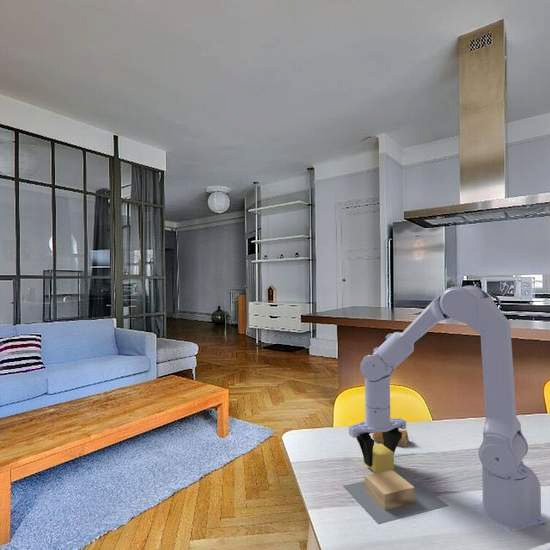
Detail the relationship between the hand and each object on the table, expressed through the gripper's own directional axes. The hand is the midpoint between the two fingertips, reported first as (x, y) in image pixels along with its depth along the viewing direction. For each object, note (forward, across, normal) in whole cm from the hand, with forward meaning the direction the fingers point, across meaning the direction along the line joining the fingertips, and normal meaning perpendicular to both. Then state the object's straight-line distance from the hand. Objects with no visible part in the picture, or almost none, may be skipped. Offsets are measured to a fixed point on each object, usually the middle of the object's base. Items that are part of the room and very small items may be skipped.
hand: (378, 462), depth 88 cm
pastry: (+2, -12, -10) cm, 16 cm away
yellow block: (+1, 0, 0) cm, 1 cm away
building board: (+1, +4, +11) cm, 12 cm away
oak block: (+1, +5, +11) cm, 12 cm away
